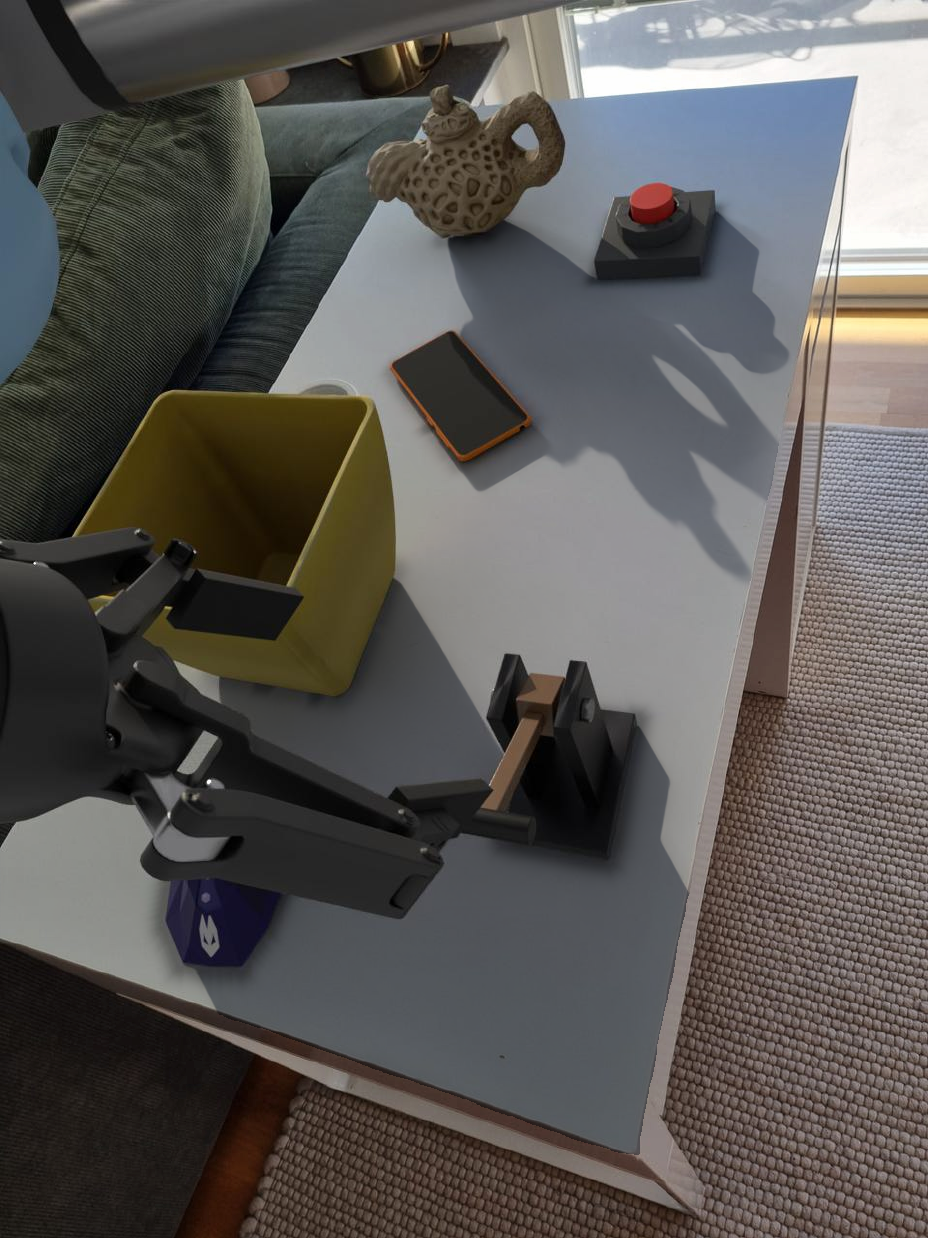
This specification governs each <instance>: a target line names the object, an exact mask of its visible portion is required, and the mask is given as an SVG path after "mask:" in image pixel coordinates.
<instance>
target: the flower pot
mask: <svg viewBox="0 0 928 1238" xmlns="http://www.w3.org/2000/svg"><path fill="white" fill-rule="evenodd" d="M384 435H385V434H384V431H383V427H382V422H381V420H380V415H379V412H378V409H377V406H376V403H375V400H374V399H373V397H371V396H368V395H353V394H309V393H273V392H272V393H271V392H270V393H268V392H246V391H245V392H243V391H242V392H241V391H238V392H237V391H235V392H234V391H213V390H188V389H187V390H186V389H185V390H184V389H172V390H169V391H165V392H163V393H161V394H160V395H158V396H157V398H156V399H155V400H154V401H153V403H152V404H151V406H150V407H149V409H148V410H147V413H146V414H145V416H144V418H143V419H142V421H141V422H140V424H139V426H138V427H137V429H136V431H135V432H134V434H133V436H132V438H131V439H130V441H129V442H128V444H127V445H126V447H125V449H124V451H123V452H122V454H121V456H120V457H119V459H118V461H116V464H115V466H114V467H113V469H112V470H111V472H110V473H109V475H108V477H107V479H106V480H105V482H104V484H103V485H102V487H101V488H100V490H99V492H98V494H97V495H96V497H95V498H94V500H93V501H92V504H91V505H90V507H89V508H88V510H87V511H86V513H85V515H84V517H83V518H82V520H81V522H80V523H79V525H78V526H77V528H76V529H75V531H74V533H73V535H72V536H71V537H76V536H82V535H87V534H93V533H99V532H105V531H110V530H116V529H122V528H128V527H136V528H141V529H143V530H145V531H147V532H148V533H149V534H150V535H151V536H152V537H153V538H154V539H155V544H154V545H153V547H152V550H153V551H154V552H155V553H157V554H158V555H159V556H160V557H161V556H162V555H163V554H164V552H165V550H166V549H167V547H168V545H169V544H170V542H171V541H172V539H179V540H182V541H184V542H186V543H188V544H189V545H191V546H192V547H193V548H194V549H195V550H196V551H197V553H198V554H197V556H196V558H195V559H194V561H193V563H192V564H191V566H190V568H191V569H202V570H207V571H212V572H217V573H222V574H228V575H233V576H238V577H243V578H248V579H253V580H258V581H263V582H268V583H273V584H278V585H283V586H288V587H293V588H296V589H297V590H298V591H299V592H300V593H301V594H302V595H303V596H304V598H303V600H302V601H301V603H300V604H299V606H298V607H297V609H296V611H295V612H294V614H293V615H292V617H291V618H290V620H289V621H288V623H287V624H286V626H285V627H284V629H283V630H282V632H281V633H280V635H279V636H278V638H277V639H276V641H272V640H264V639H256V638H247V637H239V636H230V635H222V634H214V633H205V632H197V631H188V630H180V629H174V628H173V627H172V625H171V624H170V623H169V622H168V621H167V619H166V617H167V615H168V614H169V612H170V610H171V609H172V607H167V606H165V608H164V609H163V611H162V613H161V614H160V615H159V616H158V618H157V619H156V620H155V621H154V622H153V624H152V625H151V626H150V627H149V628H148V630H147V631H146V632H145V633H144V634H143V636H142V637H143V638H144V639H146V640H147V641H149V642H150V643H152V644H153V645H154V646H158V647H162V648H163V649H164V650H165V651H166V652H167V654H168V655H169V656H170V657H171V658H172V660H173V661H174V662H177V663H179V664H182V665H183V666H184V665H185V666H187V667H190V668H193V669H196V670H198V671H201V672H204V673H207V674H210V675H212V676H215V677H219V678H225V679H231V680H237V681H242V682H249V683H254V684H260V685H265V686H266V685H267V686H272V687H279V688H284V689H290V690H296V691H301V692H306V693H307V692H308V693H312V694H318V695H319V694H320V695H325V696H332V697H337V696H338V697H339V696H340V695H343V694H345V692H347V691H348V689H349V688H350V686H351V684H352V681H353V679H354V676H355V673H356V671H357V669H358V666H359V665H360V664H359V663H360V661H361V659H362V656H363V654H364V652H365V649H366V647H367V644H368V642H369V638H370V636H371V634H372V631H373V629H374V626H375V625H376V622H377V619H378V616H379V613H380V611H381V609H382V606H383V604H384V601H385V598H386V596H387V594H388V591H389V588H390V586H391V584H392V582H393V580H394V579H393V578H394V576H395V574H396V560H397V557H396V556H397V555H396V554H397V551H396V550H397V531H396V530H397V529H396V511H395V498H394V488H393V482H392V474H391V467H390V461H389V456H388V450H387V446H386V441H385V436H384ZM129 587H130V585H129ZM129 587H127V588H126V589H124V590H125V591H126V590H127V589H128V588H129ZM120 591H121V590H119V591H116V592H112V593H109V594H106V595H102V596H99V597H95V598H92V599H89V600H88V602H89V604H90V605H91V607H92V609H93V611H94V613H95V612H96V611H97V610H99V609H100V608H101V607H102V606H103V605H104V606H105V605H106V604H107V603H109V602H110V601H111V600H112V599H113V598H114V597H115V596H116V595H117V594H118V593H119V592H120Z"/></svg>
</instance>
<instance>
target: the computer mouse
mask: <svg viewBox="0 0 928 1238" xmlns="http://www.w3.org/2000/svg"><path fill="white" fill-rule="evenodd" d="M282 894H283V893H279V892H274V891H270V890H265V889H261V888H257V887H252V886H248V885H243V884H239V883H234V882H230V881H226V880H221V879H217V878H209V879H195V880H181V881H170V884H169V892H168V898H167V905H166V912H165V919H164V920H165V923H166V925H167V927H168V930H169V932H170V934H171V937H172V939H173V942H174V944H175V946H176V950H177V951H178V953H179V956H180V959H181V962H182V963H187V964H193V965H198V966H199V965H200V966H206V967H231V968H232V967H234V968H238V967H240V968H241V967H242V966H243V965H244V964H245V962H246V961H247V959H248V958H249V956H250V954H251V953H252V952H253V950H254V949H255V947H256V946H257V944H258V943H259V941H260V940H261V939H262V937H263V935H264V934H265V933H266V931H267V930H268V928H269V927H270V925H271V922H272V919H273V917H274V914H275V912H276V909H277V906H278V904H279V901H280V899H281V896H282Z"/></svg>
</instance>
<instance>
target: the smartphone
mask: <svg viewBox="0 0 928 1238" xmlns="http://www.w3.org/2000/svg"><path fill="white" fill-rule="evenodd" d="M389 370H390V371H391V372H392V374H393V375H394V376H395V378H396V379H397V380H398V381H399V383H400V385H402V387H403V388H404V390H405V391H406V392H407V394H408V395H409V396H410V398H411V399H412V400H413V401H414V403H415V404H416V405H417V407H418V408H419V410H421V412H422V413H423V415H424V416H425V417H426V421H427V422H428V423H429V425H430V426H431V427H434V429H435V432H436V434H437V435H438V437H439V438H440V439H441V440H442V442H443V443H444V444H445V446H446V447H447V448H448V449H450V450H451V451H452V453H453V454H454V455H455V457H456V458H457V459H458V460H459V461H460V462H467V461H469V460H471V459H473V458H475V457H476V456H478V455H480V454H482V453H483V452H485V451H488V450H489V449H490V448H492V447H494V446H496V445H498V444H499V443H501V442H503V441H505V440H507V439H508V438H510V437H511V436H513V435H515V434H517V433H519V432H520V431H522V430H524V429H525V428H527V427H529V426H530V425H531V423H532V417H531V416H530V414H529V413H528V412H527V411H526V410H525V409H524V407H523V406H522V405H521V403H519V402H518V400H517V399H516V398H515V397H514V396H513V395H512V394H511V393H510V391H509V390H508V389H507V388H506V387H505V385H503V384H502V382H500V380H499V379H498V378H497V377H496V376H495V374H493V373H492V371H491V370H490V369H489V368H488V366H487V365H485V363H484V362H483V361H482V360H481V359H480V358H479V357H478V355H477V354H476V353H475V352H474V351H473V350H472V349H471V348H470V347H469V345H468V344H467V343H466V342H465V341H464V339H463V338H462V337H461V336H460V335H459V334H458V333H457V332H456V331H455V330H453V329H451V330H447V331H445V332H443V333H442V334H440V335H437V336H436V337H434V338H432V339H431V340H429V341H427V342H425V343H424V344H422V345H420V346H418V347H416V348H414V349H413V350H411V351H409V352H407V353H406V354H404V355H402V356H400V357H399V358H397V359H395V360H393V361H392V362H391V363H390V364H389Z"/></svg>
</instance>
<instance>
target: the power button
mask: <svg viewBox="0 0 928 1238" xmlns="http://www.w3.org/2000/svg"><path fill="white" fill-rule="evenodd" d="M671 187H672V186H670V185H668V184H667V183H662V182H653V183H647V184H645V185H642V186H640V187H638V188H637V189H635V191H633V192H632V194H630V195H631V198H630V204H631V212H632V218H633V220H634V221H635V222H637V223H640V224H654V223H658V222H660V221H663V220H665V219H668V218H669V217H670V216H671V215H672V214H673V212H674V209H675V208H674V197H673V190H672V188H671Z"/></svg>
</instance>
